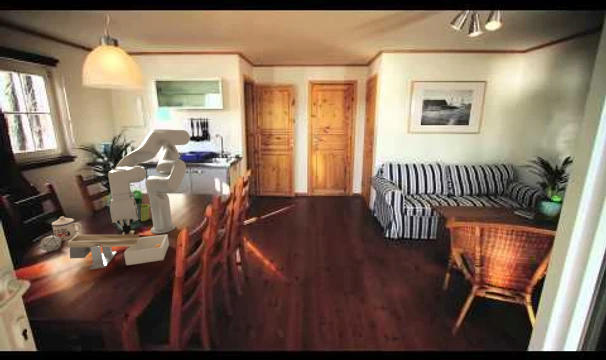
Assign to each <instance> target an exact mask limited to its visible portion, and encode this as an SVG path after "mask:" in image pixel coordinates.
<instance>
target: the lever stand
mask: <svg viewBox="0 0 606 360" xmlns="http://www.w3.org/2000/svg"><path fill="white" fill-rule="evenodd" d="M90 249H91V252H90V253H91V258H92V264H91V265H90V266H89V267H88V269H89V270H90V271H91V270H96V269H105V268H107V267H108V265H109V264H110V263H111V261H112V260H113V258H114V257H115V256H116V255H117V251H116V250H115V251H113V250H112V247H100V245H98V246H91V248H90Z"/></svg>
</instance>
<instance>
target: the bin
mask: <svg viewBox="0 0 606 360" xmlns="http://www.w3.org/2000/svg"><path fill="white" fill-rule="evenodd" d="M168 234H169V233H168ZM168 234H160V235H151V236H150V235H149V236H142V237H139V240H138V242H137V244H136V245H135V246H131V247H126V249H125V250H124V252H123V253H124V260H125V266H131V265H138V264H145V263H151V262H153V263H154V262H158V261H164V260H165V257H166V254H167V251H168V249H169V247H170V243H169V235H168ZM157 244H161V247H158V248H154V247H155V246H156V245H157Z"/></svg>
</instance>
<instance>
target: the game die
mask: <svg viewBox="0 0 606 360" xmlns="http://www.w3.org/2000/svg"><path fill="white" fill-rule="evenodd" d="M63 239H64V238H63ZM63 239H60V238H58V237H56V236H55V235H54V233H51V235H48V236H46V237H40V240H41V241H40V243H39V247H37V248H36V249H37V250H38V249H39V250H40V249H41V250H43V251H44V252H47V254H48V255H50V253H51V252H53V251H56V250H58V249H59V250H61V244H62V240H63Z"/></svg>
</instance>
